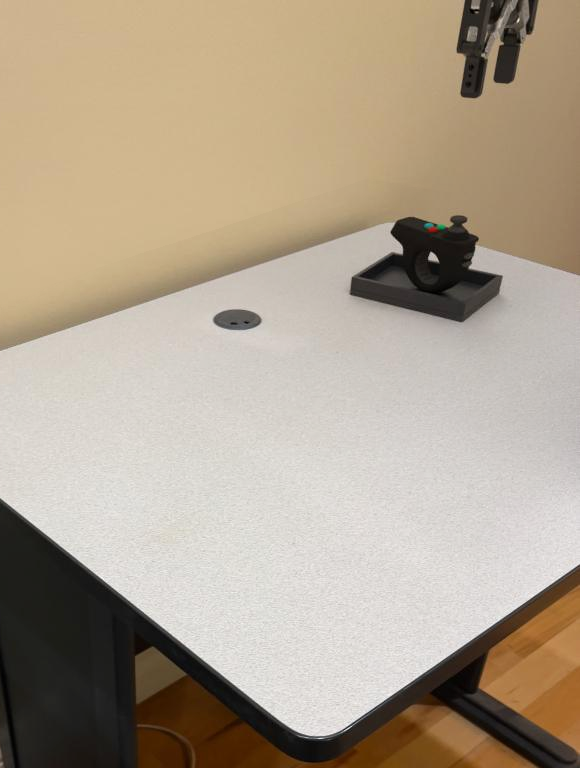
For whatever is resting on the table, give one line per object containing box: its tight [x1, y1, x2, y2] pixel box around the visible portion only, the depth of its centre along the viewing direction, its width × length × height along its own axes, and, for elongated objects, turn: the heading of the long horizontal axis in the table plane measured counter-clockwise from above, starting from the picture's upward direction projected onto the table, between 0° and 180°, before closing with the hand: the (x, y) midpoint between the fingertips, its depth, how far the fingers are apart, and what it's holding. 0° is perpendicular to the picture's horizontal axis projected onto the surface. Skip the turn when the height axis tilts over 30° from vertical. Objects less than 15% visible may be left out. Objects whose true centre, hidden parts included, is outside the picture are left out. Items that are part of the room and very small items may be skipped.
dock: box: [349, 251, 504, 323], centre depth 120 cm, size 16×11×2 cm
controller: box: [390, 214, 480, 293], centre depth 117 cm, size 4×12×10 cm, turn 33°
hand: (487, 89), depth 100 cm, fingers open, 8 cm apart
